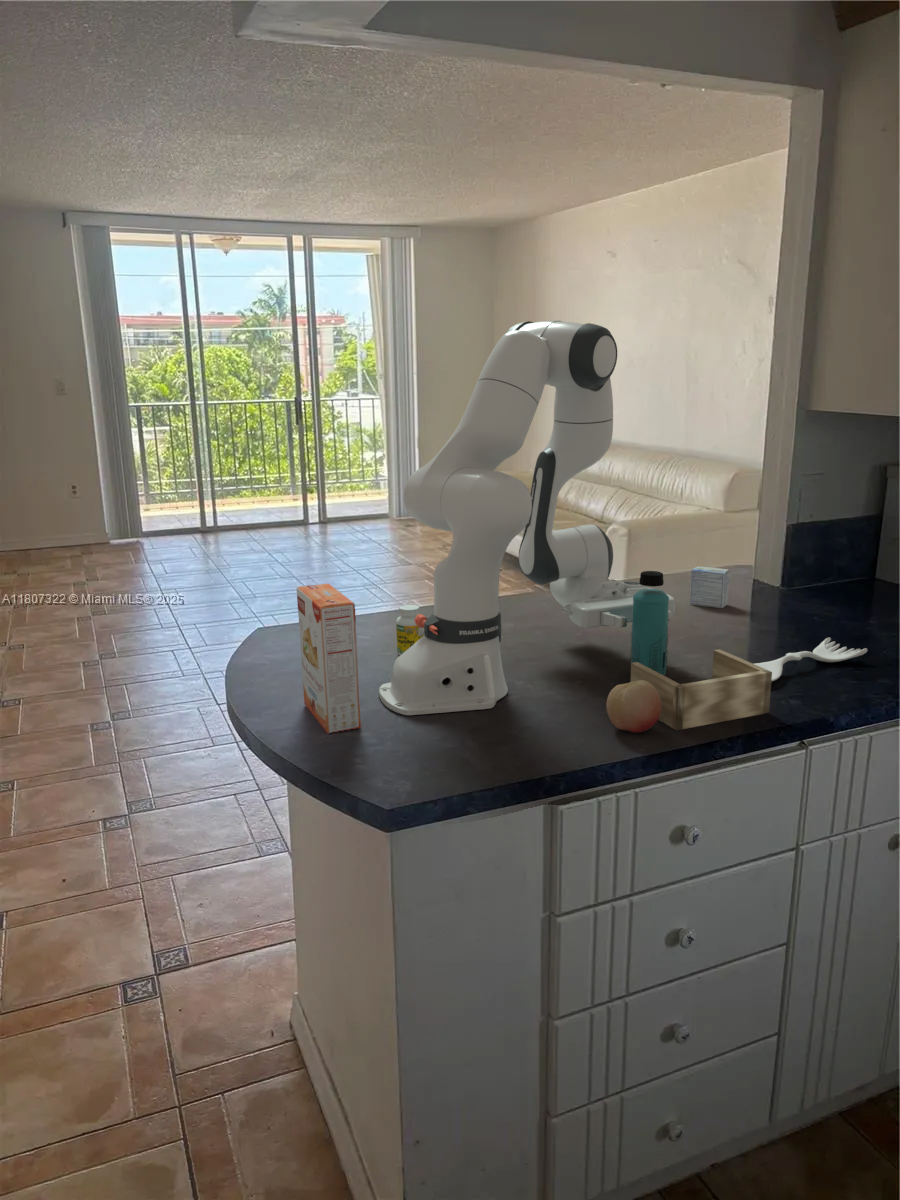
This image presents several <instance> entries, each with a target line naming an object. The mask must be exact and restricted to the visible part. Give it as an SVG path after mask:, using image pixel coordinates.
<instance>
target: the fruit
mask: <svg viewBox="0 0 900 1200" xmlns="http://www.w3.org/2000/svg"><path fill="white" fill-rule="evenodd" d="M605 704H606V713H607V715H608V718H609V719H610V722H611V723H612V724H613V725H614V727H616V728H617V729H619V730H621V731H628V732H631V733H635V734H636V733H644V732H646V731H648V730H650V729H651V728H652V727H654V725H656V724H657V722H658V721H659V720H658V718H659V716H660V712H661V699H660V696H659V694H658V692H657V690H656V689H655V687H654V686H653V685H652V684H650V683H649V682H647V681H644V680H639V681H634V682H631V681H630V682H626V683H622V684H621V683H620V684H617V685H616V686H614V687H613V688H612V689H611V690H610V692H609V693H608V695H607V700H606V703H605Z"/></svg>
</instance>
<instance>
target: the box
mask: <svg viewBox="0 0 900 1200" xmlns="http://www.w3.org/2000/svg"><path fill="white" fill-rule="evenodd" d="M712 658H713V659H712V673H711V679H706V680H700V681H692V682H687V683H681V684H680V683H678V681H677V682H676V681H675V680H672V679H671V678H669V677H667V676H665V675H664V676H663V675H661V674H660V673H658V672H656V671H654V670H652V669H650V668H648V667H646V666H644V665H642V664H640V663H638V662H634V663H631V662H630V668H631V669H630V682H634V681H639V680H644V681H647V682H649V683H650V684H652V685H653V686H654V687H655V689H656V690H657V692H658V694H659V696H660V699H661V712H660V716H659V718H658V719H659V720H658V721H659V722H661V723H663V722H664V724H665V723H666V724H665V725H667V726H668V725H669V726H668V727H670V728H672V729H674V730H675V731H682V730H686V729H690V728H696V727H700V726H701V727H702V726H706V725H712V724H718V723H722V722H728V721H733V720H738V719H743V718H748V717H754V716H759V715H764V714H769V713H770V703H771V690H772V682H771V680H772V672H771V671H769V670H766V669H764V668H762V667H759V666H757V665H755V663H752V662H750V661H748V660H745V659H743V658H741V657H739V656H736V655H734V654H732V653H729V652H727V651H724V650H722V649H714V650H713V657H712Z"/></svg>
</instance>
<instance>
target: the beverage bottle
mask: <svg viewBox="0 0 900 1200" xmlns="http://www.w3.org/2000/svg"><path fill="white" fill-rule="evenodd" d="M638 582H639V584H640V585H643V586H647V587H650V588H652V587H661V586H664V584H665V583H664V574H663V572H660V571H655V570H646V571H645V570H644V571H642V572H640V576H639V581H638ZM667 594H668V593H666V592H665V591H664V590H662V589H657V588H652V589H641V590H639V591H638V592H637V593H636V594H635V595H634V596H633V621H632V622H631V631H630V632H631V634H630V638H631V645H630V651H629V652H630V654H629V655H630V659H629V660H630V661H629V662H630V664H631V663H634V662H638V663H640V664H642V665H644V666H646V667H648V668H650V669H652V670H654V671H656V672H658V673H660V674H661V675H663V676H665V675H666V672H667V671H668V670H667V669H668V668H667V664H668V648H669V647H668V646H669V632H668V631H669V625H670V624H669V621H668V605H669V597H668V595H669V594H668V595H667ZM629 668H630V670H631V667H629Z"/></svg>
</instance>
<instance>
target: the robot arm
mask: <svg viewBox="0 0 900 1200" xmlns="http://www.w3.org/2000/svg"><path fill="white" fill-rule="evenodd" d="M617 360H618V346H617V342H616V340H615V338H614V336H613V334H612V333H611V331H610V330H609V329H608V328H606V327H604V326H602V325H599V324H595V323H589V322H588V323H579V322H569V321H562V320H542V321H535V322H534V321H529V320H528V321H522V322H519V323H517V324H514V325H513V326H511V327H509V329H507V331H506V332H505V333H504V334H503V335H502V336H501V337H500V338H499V339H498V341H497V342H496V344H495V345H494V347H493V349H492V351H491V352H490V354H489V356H488V358H487V359H486V361H485V363H484V364H483V367H482V369H481V371H480V372H479V373H480V374H479V376H478V378H477V380H476V383H475V386H474V388H473V391H472V393H471V395H470V398H469V401H468V403H467V406H466V408H465V410H464V412H463V414H462V416H461V420H460V421H459V423H458V424H457V426H456V428H455V429H454V431H453V433H452V435H450V437H449V438H448V439H447V441H446V442H445V443H444V444H443V446H442V447H441V448H440V449H439V451H438V453H436V455H435V456H433V458H432V459H431V460H429V461H428V462H427V463H425V465H423V466H422V467H420V468H418V469H416V470H415V471H414V472H412V474H410V476H409V478H408V479H407V480H406V483H405V486H404V490H403V502H404V505H405V506H404V507H405V509H406V511H407V513H408V514H409V515H410V516H411V517H412V518H413V519H414V520H417V521H418V522H420V523H421V524H424V525H425V526H427V527H430V528H432V529H436V530H440V531H445V532H451V533H452V542H451V547H450V550H449V552H448V555H447V557H445V558H444V559H442V560H441V561H439V562H438V564H437V565H436V567H435V569H434V572H433V606H434V607H433V610H434V611H433V612H432V613H431V615H430V616H429V617H426V616H425V615H424V614H421V613H419V615H417V616H416V618H415V619H416V620H414V621H415V623H416V625H418V626H419V627H421V628H423V630H424V636H423V637H422V638H421V639H419V640H418V641H417V642H416V643H415V644H414V645H412V646H411V647H410V648H409V649H408V650H406V651H405V652H404V653H403V654H401V655H398V656H397V658H396V659H395V661H394V663H393V667H392V672H391V678H390V679H391V680H390V681H389V682H387V683H383V684H381V685H380V687H379V689H378V697H380V698H379V700H380V699H381V700H380V701H381V702H382V704H383V705H384V706H386V707H387V708H388V709H390V711H393V712H395V713H397V714H401V715H404V716H415V715H417V716H418V715H431V714H439V713H440V714H442V713H452V712H453V713H454V712H465V711H476V710H478V711H479V710H487V709H488V710H489V709H492V708H494V707H495V706H496V704H497V701H499V700H500V699H502V698H504V697H505V696H506V695H507V694H508V692H509V689H508V686H507V682H506V679H505V673H504V670H503V664H502V656H501V645H500V643H501V642H502V614H501V612H500V611H499V597H500V593H499V592H500V591H499V590H500V573H501V567H502V563H503V559H504V556H505V554H506V551H507V549H508V546H509V545H510V543H511V542H512V540H513V539H514V538H515V537H517V536H518V535H519V534H520V533H522V531H524V532H523V535H522V539H521V542H520V545H519V548H518V565H519V567H520V570H521V573H522V574H523V575H524V576H525V577H526V578H527V579H529V580H530V581H532V582H533V583H535V584H537V585H540V586H543V585H546V584H549V589H550V593H551V594H552V597H553V598H554V600H556V602H557V603H558V604H559V605H560V606H562V607H561V608H560V610H561V613H563V614H565V615H569V620H571V622H573V623H574V624H575V625H577V626H578V627H580V628H585V629H592V628H599V627H610V626H612V627H616V628H618V629H620V628H626V627H627V626H628V624H629V623H632V621H633V596H634V595H635V594H636V593H637V592H638V591H639V590H641V589H653V588H652V587H648V586H643V585H640V584H639V581H621V580H618V579H617V580H616V579H614V578H613V579H612V578H611V579H609V578H610V575H611V571H612V567H613V562H614V549H613V544H612V541H611V540H610V538H609V536H608V535H607V534H606V533H605V532H604V530H603V529H602V528H600V527H599V526H598V525H596V524H592V523H590V524H585V525H578V526H577V525H576V526H573V527H568V528H564V529H563V528H562V529H555V530H553V528H554V521H555V515H556V509H557V503H558V497H559V494H560V491H561V490H562V488H563V487H564V486H565V484H566V483H567V482H569V480H571V479H573V477H575V476H577V475H578V474H579V473H581V472H583V471H584V470H586V469H587V470H588V468H590V467H592V466H593V465H595V464H596V463H598V462H599V461H601V459H602V458H604V456H605V455H606V454H607V452H608V450H609V449H610V447H611V444H612V440H613V433H614V432H613V431H614V403H613V402H614V401H613V399H614V398H613V387H612V380H611V376H612V375H613V373H614V371H615V367H616V365H617ZM545 385H547V386H550V387H554V388H555V392H554V393H555V394H554V402H553V403H554V404H553V426H552V431H551V435H550V438H549V440H548V443H547V445H546V447H545V448H544V449H543V450H541V452H540V453H539V454H538V456H537V458H536V461H535V467H534V470H533V475H532V483H531V489H530V490H529V488H528V487H527V486H528V485H527V484H525V483H524V481H522V480H520V479H519V478H516V477H514V476H512V475H509V474H507V473H504V472H501V471H498V470H496V469H497V468H498V467H499V466H500V465H501V464H502V463H503V462H504V461H506V460H507V459H510V458H511V457H512V456H514V455H515V454H517V453H518V452H519V451H520V449H521V448H522V446H523V445H524V442H525V440H526V437H527V435H528V434H529V433H528V432H529V430H530V428H531V425H532V423H533V420H534V418H535V414H536V412H537V409H538V406H539V403H540V401H541V398H542V395H543V391H544V389H545ZM666 594H667V595H668V597H669V605H668V622H671V621H672V617H673V616H674V614H675V610H676V609H675V608H676V607H675V604H676V602H675V598H674V597H673V596H671V595H670V594H668V593H666Z"/></svg>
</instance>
